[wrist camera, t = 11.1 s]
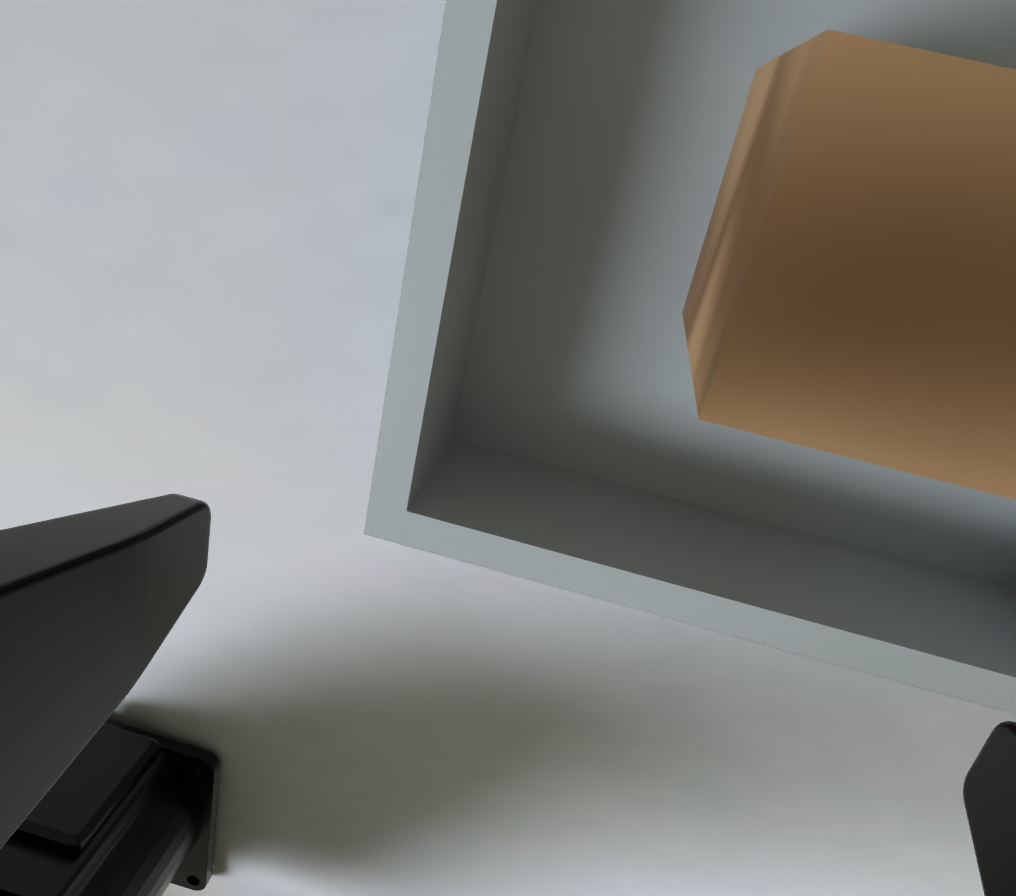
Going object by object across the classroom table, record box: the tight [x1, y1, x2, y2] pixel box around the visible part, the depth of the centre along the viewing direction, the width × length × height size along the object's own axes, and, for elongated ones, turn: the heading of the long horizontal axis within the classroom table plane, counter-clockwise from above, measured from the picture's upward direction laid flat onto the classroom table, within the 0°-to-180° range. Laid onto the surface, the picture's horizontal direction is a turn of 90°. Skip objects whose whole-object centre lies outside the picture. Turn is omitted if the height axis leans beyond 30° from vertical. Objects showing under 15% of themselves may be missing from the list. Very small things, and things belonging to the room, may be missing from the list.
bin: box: [364, 0, 1016, 714], centre depth 15 cm, size 16×16×5 cm
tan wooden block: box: [682, 29, 1016, 500], centre depth 13 cm, size 5×5×7 cm
